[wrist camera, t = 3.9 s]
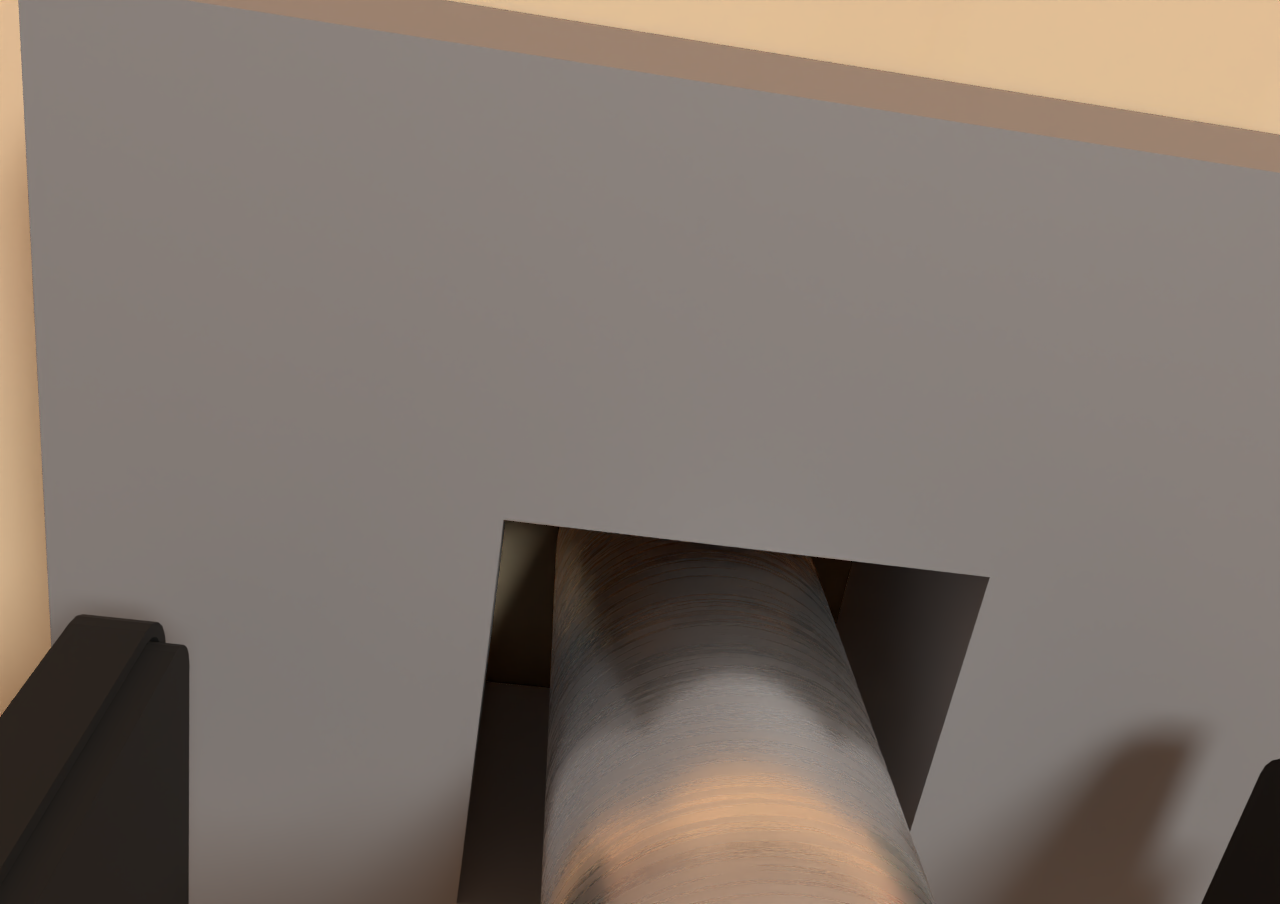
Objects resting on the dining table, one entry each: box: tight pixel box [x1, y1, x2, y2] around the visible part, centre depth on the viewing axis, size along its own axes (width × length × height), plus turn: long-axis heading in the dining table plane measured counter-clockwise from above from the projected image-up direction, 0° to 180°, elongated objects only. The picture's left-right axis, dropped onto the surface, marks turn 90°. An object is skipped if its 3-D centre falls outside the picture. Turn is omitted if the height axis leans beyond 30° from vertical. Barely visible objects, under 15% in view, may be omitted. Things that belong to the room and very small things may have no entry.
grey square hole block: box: [18, 0, 1280, 904], centre depth 12 cm, size 11×11×4 cm
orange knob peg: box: [541, 527, 936, 904], centre depth 9 cm, size 4×4×10 cm
